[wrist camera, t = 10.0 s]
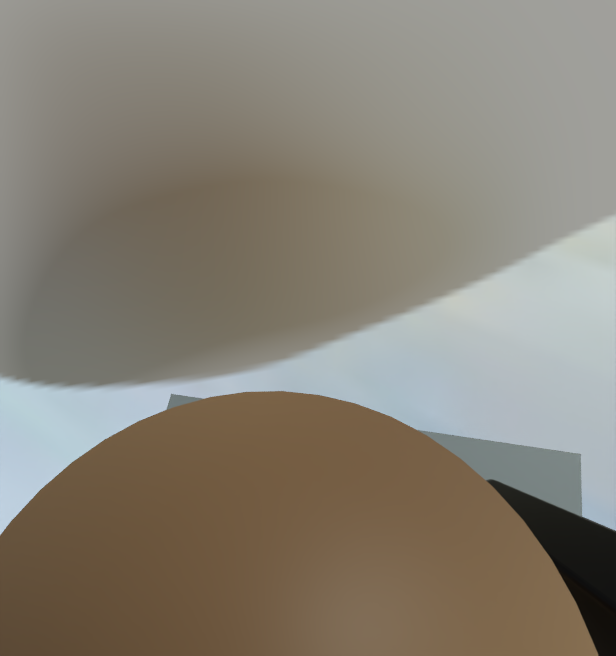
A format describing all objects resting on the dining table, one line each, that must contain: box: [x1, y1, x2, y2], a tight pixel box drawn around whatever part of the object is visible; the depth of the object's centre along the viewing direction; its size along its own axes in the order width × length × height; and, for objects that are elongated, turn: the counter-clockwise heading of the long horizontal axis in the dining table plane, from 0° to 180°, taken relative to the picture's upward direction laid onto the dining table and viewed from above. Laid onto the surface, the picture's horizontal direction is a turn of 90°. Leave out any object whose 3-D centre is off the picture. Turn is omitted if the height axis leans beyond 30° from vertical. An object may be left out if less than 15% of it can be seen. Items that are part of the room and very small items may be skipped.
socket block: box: [167, 394, 582, 516], centre depth 14 cm, size 10×10×4 cm
